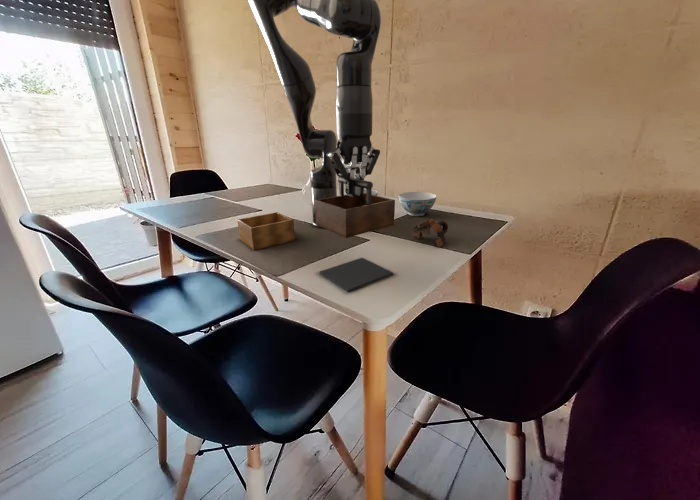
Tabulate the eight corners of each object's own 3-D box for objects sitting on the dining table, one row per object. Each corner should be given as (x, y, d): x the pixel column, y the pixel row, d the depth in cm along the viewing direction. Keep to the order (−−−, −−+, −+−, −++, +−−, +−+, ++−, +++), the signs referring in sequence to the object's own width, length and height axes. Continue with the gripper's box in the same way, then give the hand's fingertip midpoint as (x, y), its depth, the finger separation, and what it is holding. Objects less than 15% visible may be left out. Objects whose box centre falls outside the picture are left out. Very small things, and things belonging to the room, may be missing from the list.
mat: (362, 259, 86) (362, 257, 86) (392, 274, 78) (392, 272, 77) (319, 273, 79) (319, 271, 78) (347, 292, 70) (347, 289, 70)
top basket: (361, 214, 82) (361, 172, 78) (394, 225, 73) (396, 178, 69) (316, 224, 74) (313, 178, 70) (346, 238, 65) (345, 186, 61)
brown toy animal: (434, 252, 92) (422, 227, 91) (415, 255, 100) (403, 232, 100) (460, 234, 97) (449, 210, 96) (440, 238, 105) (429, 217, 105)
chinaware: (397, 218, 123) (398, 199, 120) (398, 208, 137) (399, 191, 134) (436, 219, 121) (438, 200, 118) (433, 209, 135) (434, 192, 132)
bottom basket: (279, 231, 111) (277, 212, 108) (295, 240, 102) (293, 219, 99) (240, 239, 103) (237, 219, 100) (253, 250, 94) (250, 228, 91)
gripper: (337, 110, 58) (339, 203, 64) (390, 111, 65) (388, 194, 72) (316, 112, 63) (320, 197, 70) (367, 113, 71) (367, 189, 77)
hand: (354, 195), depth 71 cm, fingers closed on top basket
